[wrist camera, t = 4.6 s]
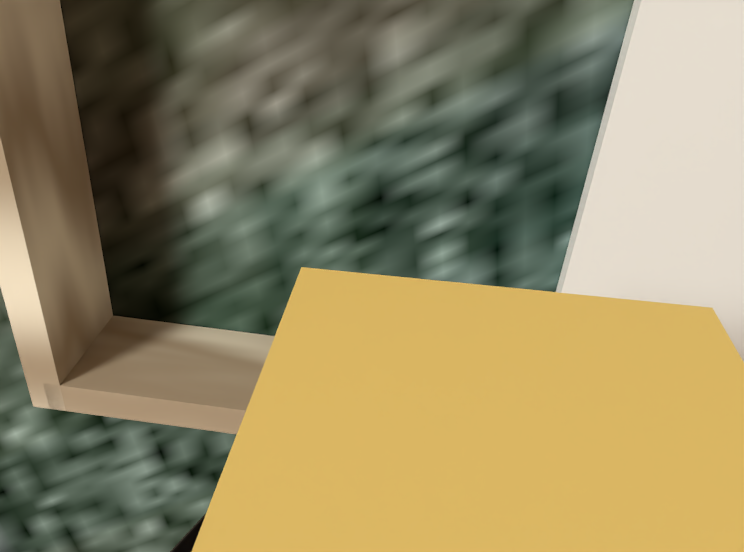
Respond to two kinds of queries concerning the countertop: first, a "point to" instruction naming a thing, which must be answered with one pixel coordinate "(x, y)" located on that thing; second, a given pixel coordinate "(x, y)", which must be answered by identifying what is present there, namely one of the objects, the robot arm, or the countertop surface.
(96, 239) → the bracket
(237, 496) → the block
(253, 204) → the countertop surface
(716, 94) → the mat
